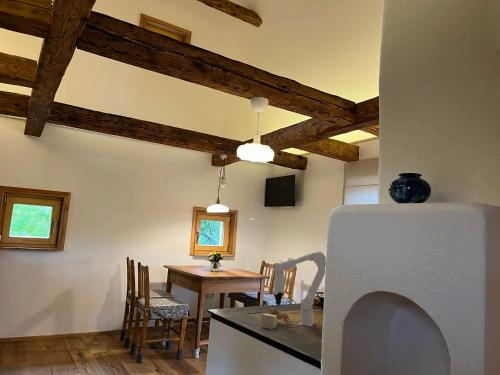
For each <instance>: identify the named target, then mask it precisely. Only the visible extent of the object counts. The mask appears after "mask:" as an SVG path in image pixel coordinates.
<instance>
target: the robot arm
mask: <svg viewBox="0 0 500 375" xmlns="http://www.w3.org/2000/svg"><path fill="white" fill-rule="evenodd" d="M326 258H327V257H326V256H325V254H324V253H323V252H322V251H317V252H316V251H315V252H311V253H307V254H304V255H303V256H299V257H297V258H295V259H294V258H292V257H289V258H287V259H286V260H280V262H277V263H276V264H275V265H274V268H273V269H274V271H275V272H274V284H273V286H274V288H272V289H271V290H272V291H273V294H272V295H273V296H274V300H275V305H276V306H281V304H282V299H283V296H284V294H285V293H284V291H285V290H284V287H285V286H284V283H285V271H288V270H291V269H293V268H295V267H297V265H298V264H301V263H304V262H308V261H310V262H314V264H315V265H316V267H317V271H316V273H315V276H314V278H313V280H312V283H311V284H310V287H309V289H308V291H307V293H306V295H305V297H304V298H303V299H302V300H301V302H300V307H301V308H300V322H299V323H298V325H299V326H306V327H313V326H314V325H315V323H316V321H314V314H315V313H314V307H313V305H314V300H315V296H316V294H317V292H318V290H319V287H320V286H321V284H322V281H323V279H324V277H325V274H326V273H325V266H326V264H327V259H326Z"/></svg>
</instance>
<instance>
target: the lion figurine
mask: <svg viewBox="0 0 500 375" xmlns="http://www.w3.org/2000/svg"><path fill="white" fill-rule="evenodd" d="M267 314H270V315H277V320H280V321H281V320H283V325H284V326H286V327H289V326H293V324H292V323H291V322H290V317H289V315H288V314H287V313H281V312H279V311H278V310H276V308H273V307H270V308H268V312H267Z"/></svg>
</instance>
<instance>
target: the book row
mask: <svg viewBox="0 0 500 375" xmlns="http://www.w3.org/2000/svg"><path fill="white" fill-rule="evenodd" d="M260 320H261V321H260V322H261V323H260V328H265V329H271V330H273V329H275V328H277V321H278V319H277V315H270V314H268V313H264V314H261V317H260Z"/></svg>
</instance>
